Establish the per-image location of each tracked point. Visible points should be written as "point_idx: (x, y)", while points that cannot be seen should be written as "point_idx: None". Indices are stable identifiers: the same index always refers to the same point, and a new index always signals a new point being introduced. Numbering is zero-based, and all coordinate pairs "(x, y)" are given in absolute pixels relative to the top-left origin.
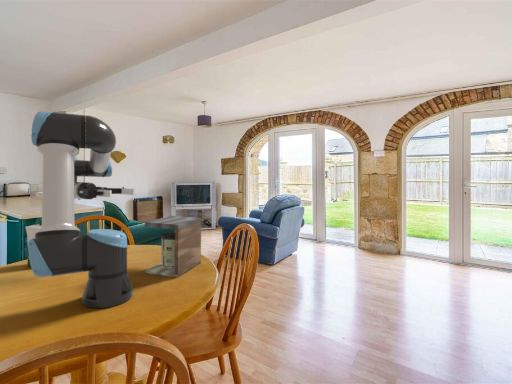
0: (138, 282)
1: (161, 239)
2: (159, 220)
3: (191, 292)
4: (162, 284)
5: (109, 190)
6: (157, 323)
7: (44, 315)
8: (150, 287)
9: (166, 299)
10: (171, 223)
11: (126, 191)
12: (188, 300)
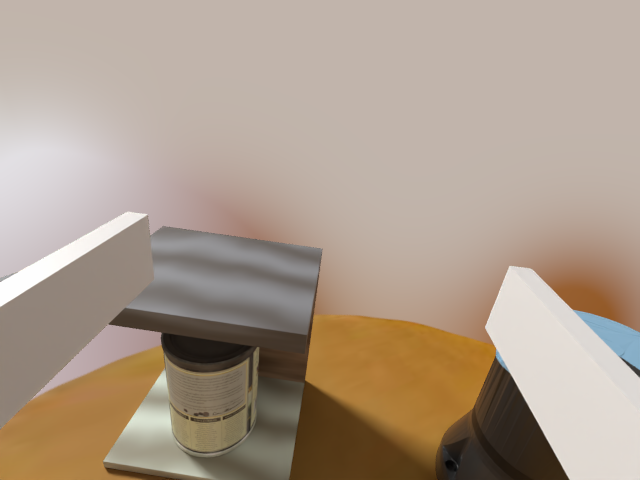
0: (373, 468)
1: (226, 375)
2: (246, 303)
3: (372, 336)
4: (359, 397)
5: (535, 274)
6: (491, 348)
7: None
8: (388, 417)
9: (421, 363)
10: (305, 263)
11: (75, 307)
12: (404, 332)
